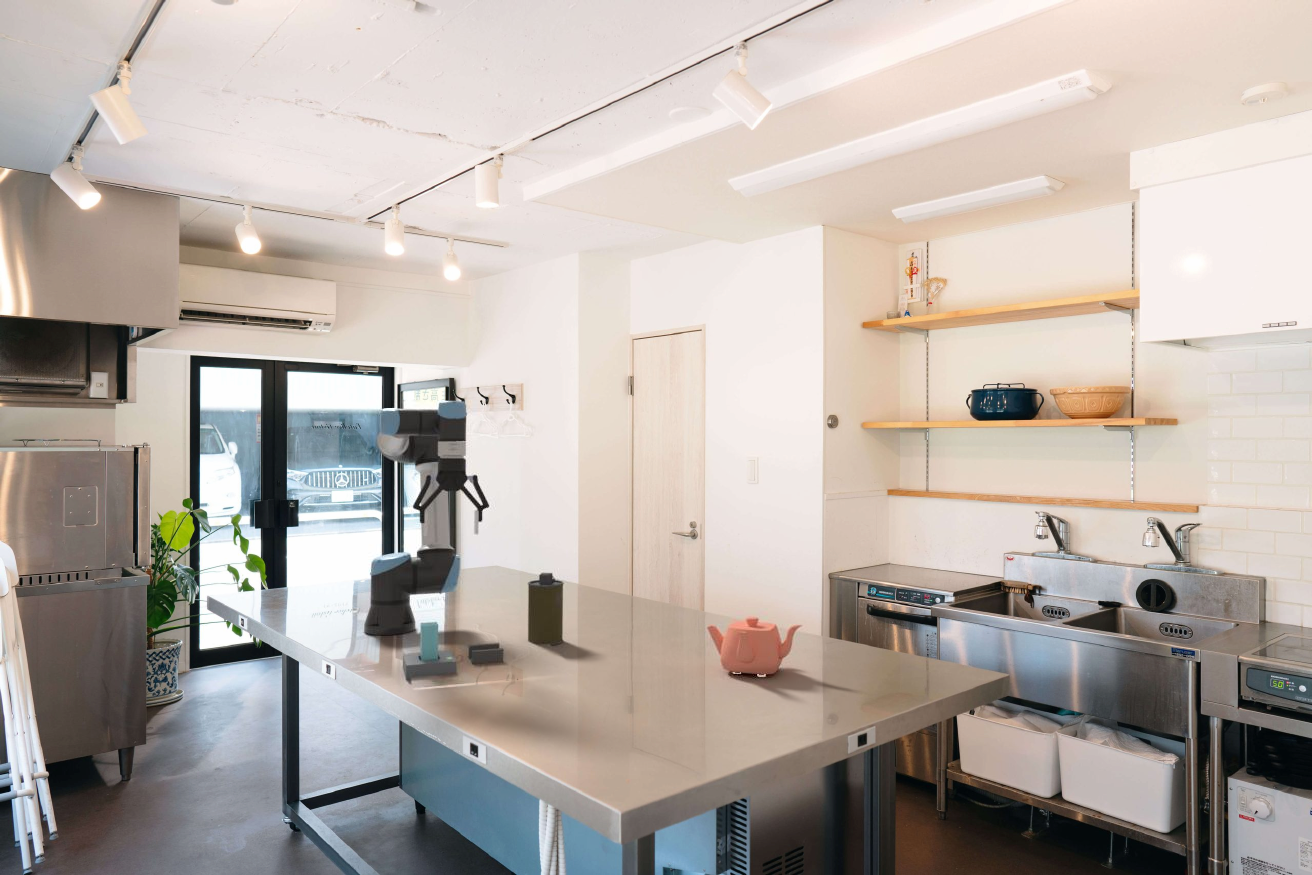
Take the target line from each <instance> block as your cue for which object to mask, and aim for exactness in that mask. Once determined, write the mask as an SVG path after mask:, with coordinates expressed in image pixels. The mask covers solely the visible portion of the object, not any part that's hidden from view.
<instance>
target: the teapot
mask: <svg viewBox="0 0 1312 875" xmlns="http://www.w3.org/2000/svg"><path fill="white" fill-rule="evenodd" d="M759 620H760V619H759V617H756V616H747V617H745V620H736V621H733V622H731V623H730V624H729V625H728V626H727V628H726V631H725V634H724V636H723V634H722V633H721V632H720V630H719V629H718V628H717V627H716V625H708V626H707V627H706V628H707V630H708V632H709V634H710V638H711V639H712V641H713V643H714V646H715V648H716V650H717V651H718V654H719V656H720V657H719V658H720V663H721V666H722V668H723V670H725V671H728V672H731V673H732V672H735V673H740V672H741V673H742V674H752V675H754V674H755V675H756V674H759V675H764V674H766V675H772V674H774V673H776V672H777V671H778V670H779V668H780V666H781V665H782V662H783V659H784V658H786V657H787V656H789V653H790V652H791V649H792V645H793V642H794V641H793V640H794V635H795V632H797V630H798V629H799V628H801V627H802V626H803V624H794V625H792V626H791V625H790V627H789V628H788V629H787V630H786V636H785V639H784V641H783V642H782V640H781V636H780V633H779V629H778V626H777V624H776V623H771V622H763V621H759Z"/></svg>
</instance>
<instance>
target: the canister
mask: <svg viewBox="0 0 1312 875" xmlns="http://www.w3.org/2000/svg"><path fill="white" fill-rule="evenodd" d="M538 578H539V579H537V580H530V581H528V582H527V585H528V588H527V590H528V591H527V593H528V595H527V596H528V597H527V598H528V600H527V602H528V603H527V606H528V609H527V611H528V613H527V619H528V620H527V641H528V642H529V643H532V644H536V645H550V646H557V645H559V644H563V643H564V639H563V638H564V637H563V631H564V630H563V628H564V627H563V626H564V625H563V624H564V623H563V622H564V621H563V620H564V610H563V609H564V608H563V607H564V584H565V583H564V581H562V580H559V579H556V578H555V577H554V576H553V572H541V573H540V574H539V576H538Z"/></svg>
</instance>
